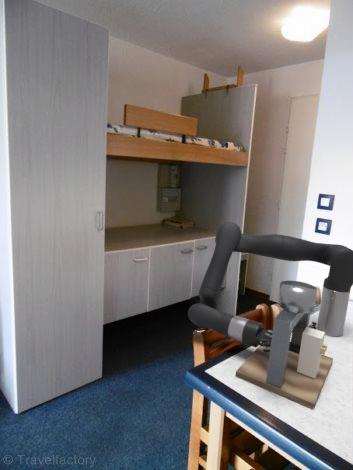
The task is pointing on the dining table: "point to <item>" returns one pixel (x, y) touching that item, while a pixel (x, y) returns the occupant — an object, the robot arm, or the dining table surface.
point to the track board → (286, 377)
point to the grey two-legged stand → (289, 326)
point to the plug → (311, 352)
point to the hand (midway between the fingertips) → (301, 350)
